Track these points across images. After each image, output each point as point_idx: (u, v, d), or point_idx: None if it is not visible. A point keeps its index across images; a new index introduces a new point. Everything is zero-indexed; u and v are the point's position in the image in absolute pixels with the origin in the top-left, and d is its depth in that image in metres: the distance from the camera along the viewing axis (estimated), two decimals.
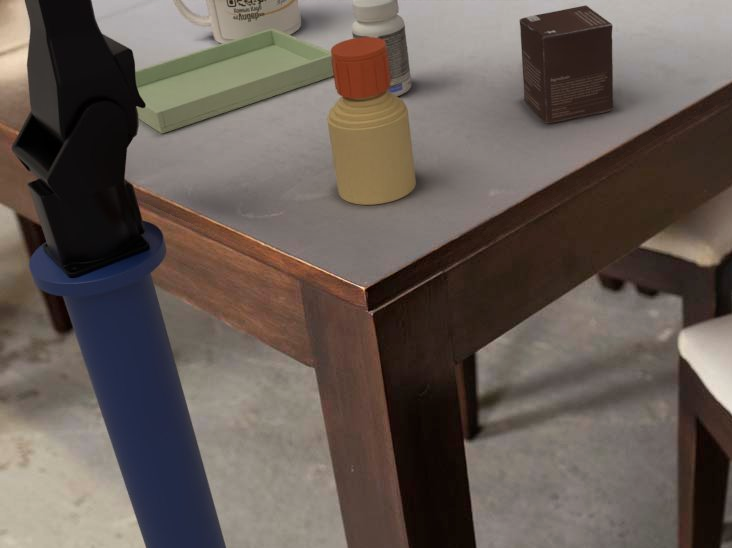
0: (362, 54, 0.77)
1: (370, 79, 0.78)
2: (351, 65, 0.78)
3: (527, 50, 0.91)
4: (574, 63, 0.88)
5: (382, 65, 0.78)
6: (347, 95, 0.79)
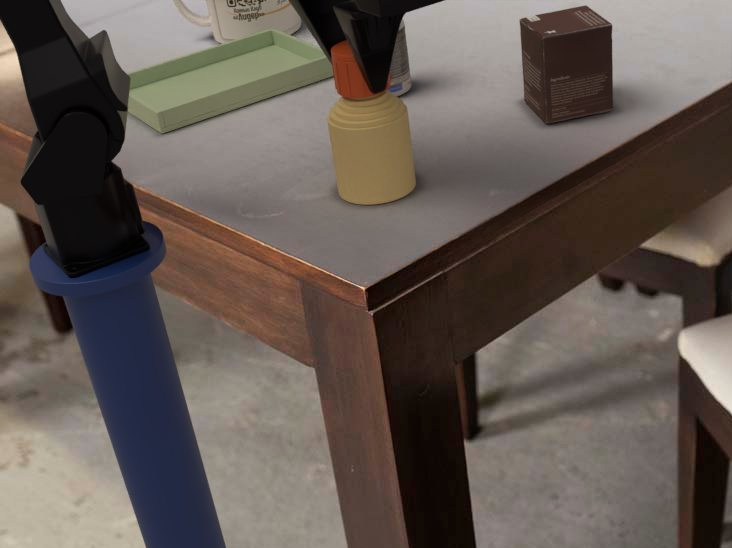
0: None
1: None
2: (351, 65, 0.78)
3: (527, 50, 0.91)
4: (573, 63, 0.88)
5: None
6: (347, 95, 0.79)
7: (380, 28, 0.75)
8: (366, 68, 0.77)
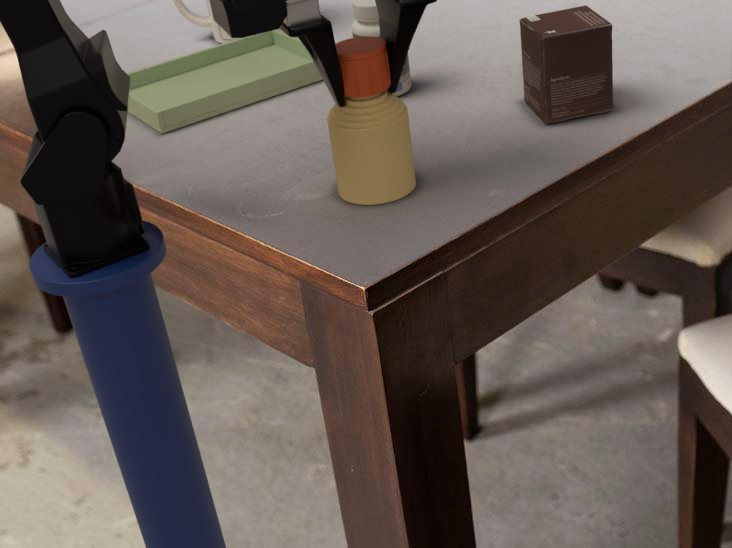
0: (384, 42, 0.79)
1: None
2: (383, 56, 0.78)
3: (527, 50, 0.91)
4: (573, 63, 0.88)
5: None
6: (381, 89, 0.79)
7: None
8: (404, 63, 0.79)
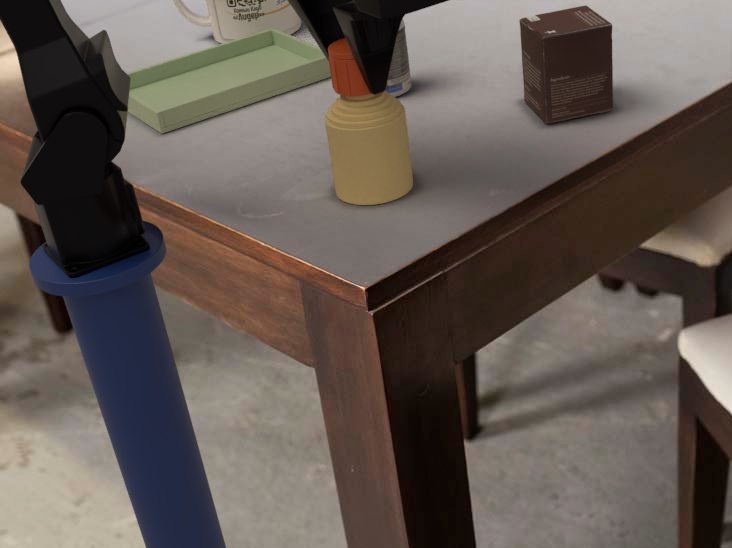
0: None
1: None
2: None
3: (527, 50, 0.91)
4: (573, 63, 0.88)
5: None
6: None
7: (380, 29, 0.76)
8: (366, 69, 0.77)
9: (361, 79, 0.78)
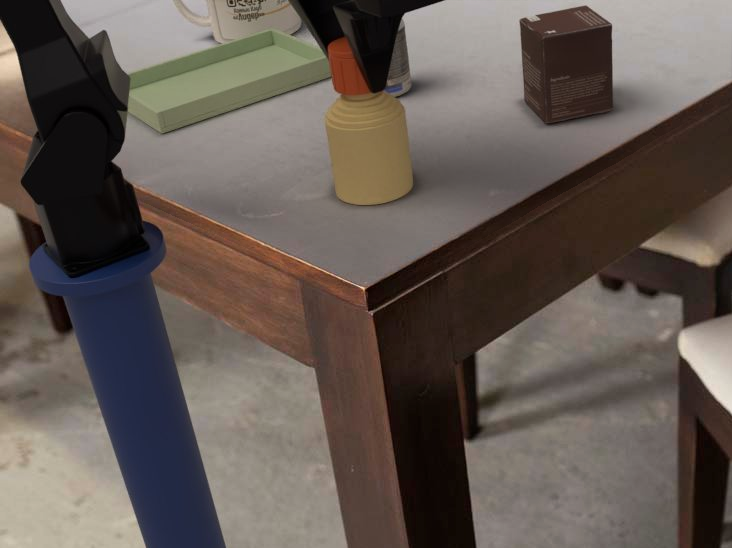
0: (332, 42, 0.79)
1: None
2: None
3: (527, 50, 0.91)
4: (573, 63, 0.88)
5: (331, 65, 0.79)
6: None
7: (380, 28, 0.75)
8: (366, 68, 0.77)
9: None
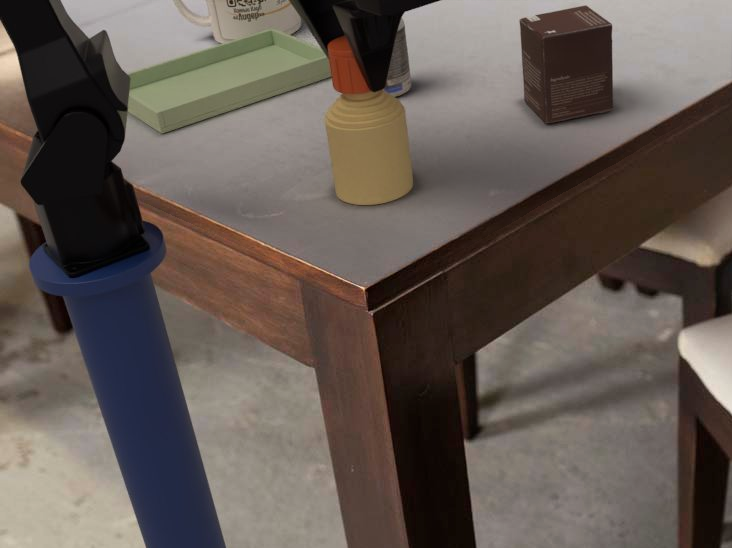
0: (338, 51, 0.77)
1: (344, 77, 0.78)
2: (331, 58, 0.78)
3: (527, 50, 0.91)
4: (573, 63, 0.88)
5: None
6: (333, 85, 0.80)
7: (379, 27, 0.75)
8: (365, 67, 0.77)
9: None
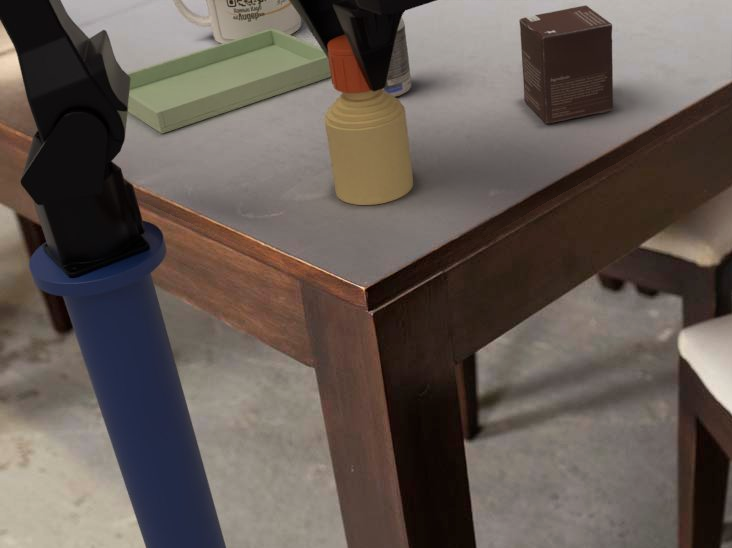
0: None
1: None
2: None
3: (527, 50, 0.91)
4: (573, 63, 0.88)
5: None
6: (356, 90, 0.79)
7: (380, 25, 0.75)
8: (366, 65, 0.77)
9: None
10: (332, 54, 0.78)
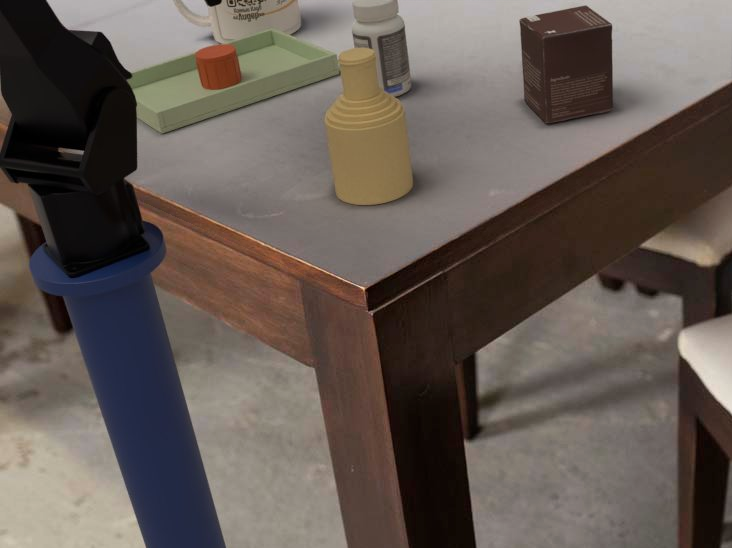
0: (225, 54, 1.05)
1: (232, 72, 1.06)
2: (218, 64, 1.05)
3: (527, 50, 0.91)
4: (573, 63, 0.88)
5: (237, 61, 1.06)
6: (216, 87, 1.06)
7: None
8: None
9: None
10: (197, 61, 1.06)
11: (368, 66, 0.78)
